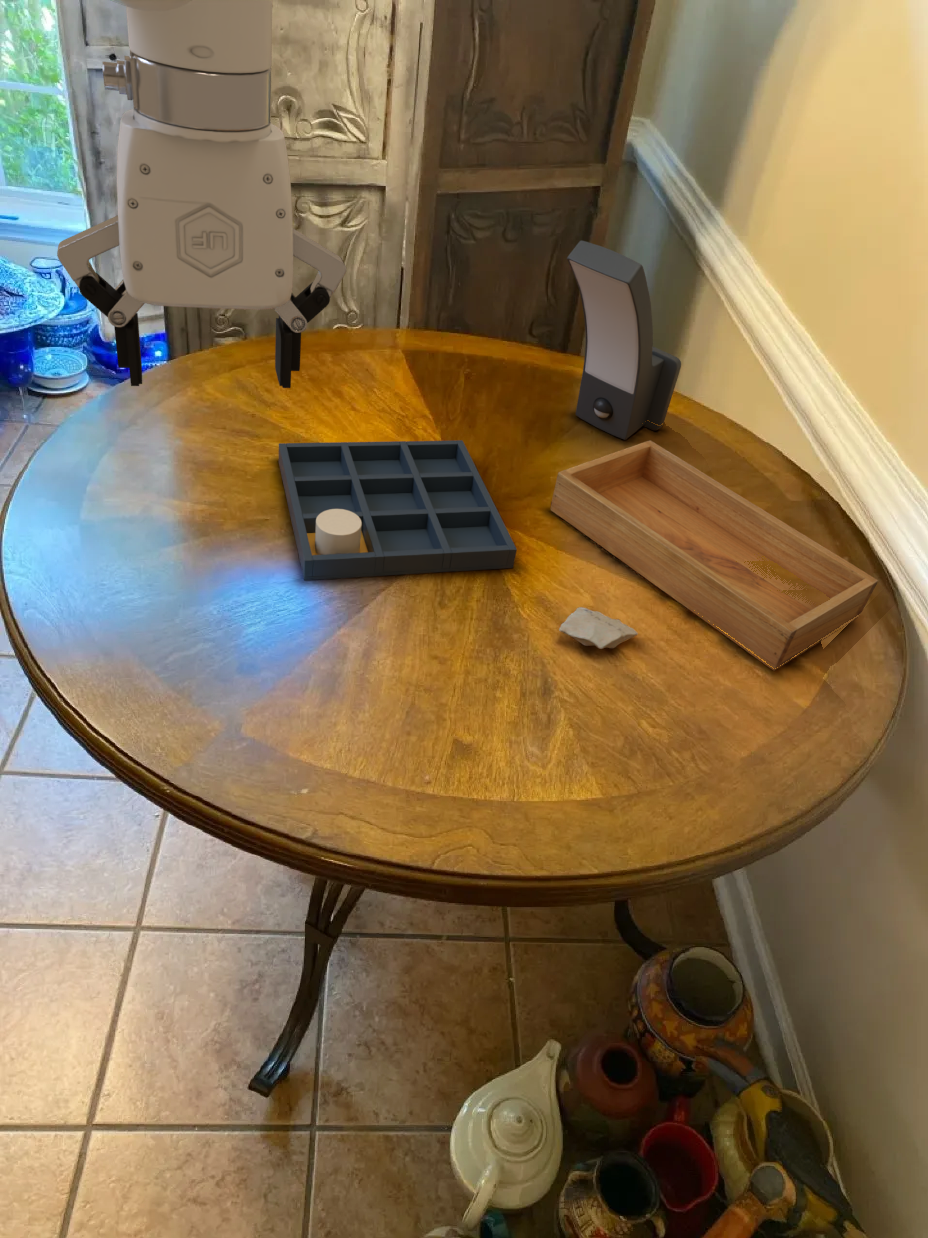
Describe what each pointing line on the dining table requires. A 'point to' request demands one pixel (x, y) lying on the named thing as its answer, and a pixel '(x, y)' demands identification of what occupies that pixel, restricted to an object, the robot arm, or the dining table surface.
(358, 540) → the cylinder
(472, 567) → the grid
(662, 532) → the tray
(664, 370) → the light fixture
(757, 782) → the dining table surface
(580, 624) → the stone
